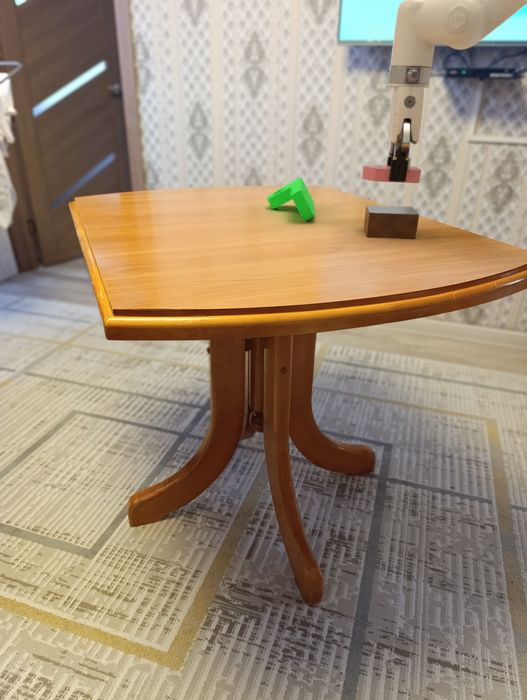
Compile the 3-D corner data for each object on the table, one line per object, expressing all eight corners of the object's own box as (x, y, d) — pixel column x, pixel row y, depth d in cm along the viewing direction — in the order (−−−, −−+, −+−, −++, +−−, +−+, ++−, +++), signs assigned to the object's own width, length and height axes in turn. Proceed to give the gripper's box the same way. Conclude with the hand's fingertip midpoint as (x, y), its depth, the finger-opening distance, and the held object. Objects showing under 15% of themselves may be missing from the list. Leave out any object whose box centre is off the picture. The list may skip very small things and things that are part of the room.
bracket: (280, 220, 135) (267, 195, 132) (314, 202, 132) (301, 176, 129) (277, 239, 117) (261, 210, 114) (315, 218, 114) (300, 189, 111)
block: (409, 229, 112) (412, 206, 110) (415, 239, 105) (419, 214, 103) (363, 227, 113) (366, 204, 111) (366, 236, 106) (369, 212, 104)
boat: (414, 179, 106) (418, 156, 104) (419, 183, 102) (423, 159, 100) (361, 177, 107) (363, 154, 105) (363, 180, 102) (365, 157, 100)
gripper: (439, 78, 88) (421, 187, 96) (421, 80, 103) (407, 174, 111) (395, 76, 88) (381, 185, 97) (383, 79, 104) (372, 172, 112)
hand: (395, 178), depth 104 cm, fingers closed on boat, 5 cm apart
